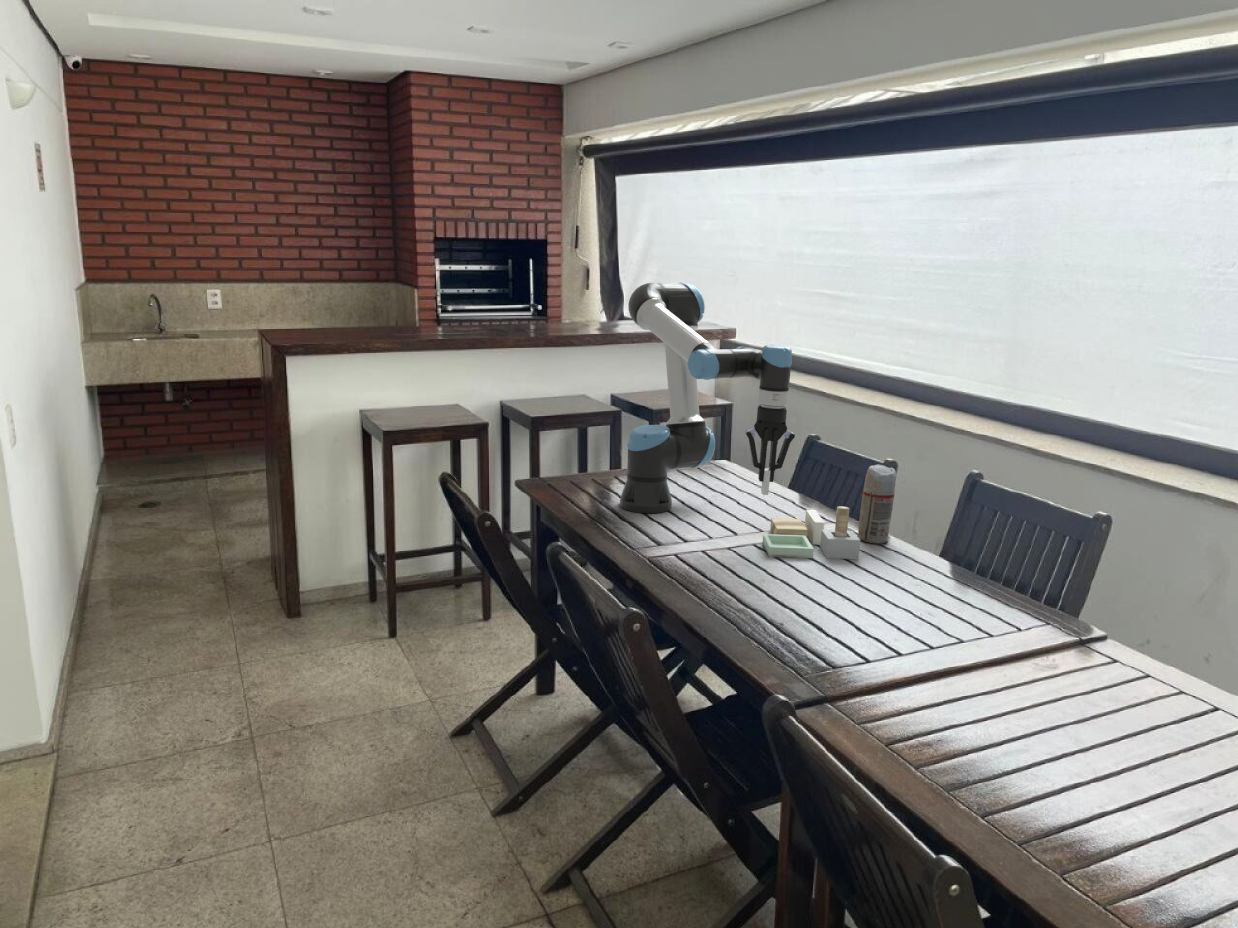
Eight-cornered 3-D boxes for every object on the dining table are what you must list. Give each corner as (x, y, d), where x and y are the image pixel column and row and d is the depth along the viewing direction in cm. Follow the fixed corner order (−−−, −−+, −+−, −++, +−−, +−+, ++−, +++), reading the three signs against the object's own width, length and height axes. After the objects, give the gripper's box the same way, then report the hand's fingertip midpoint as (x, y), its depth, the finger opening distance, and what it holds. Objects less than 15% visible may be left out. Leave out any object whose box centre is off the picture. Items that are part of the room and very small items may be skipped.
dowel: (831, 551, 247) (835, 506, 244) (843, 551, 247) (847, 506, 244) (834, 555, 244) (838, 509, 241) (846, 555, 244) (850, 509, 241)
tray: (762, 543, 251) (763, 533, 251) (804, 544, 251) (805, 535, 251) (768, 556, 241) (769, 547, 240) (812, 558, 241) (813, 548, 240)
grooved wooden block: (770, 532, 262) (771, 517, 262) (799, 533, 263) (800, 518, 262) (775, 543, 253) (776, 528, 252) (806, 544, 253) (807, 529, 252)
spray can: (886, 536, 262) (894, 464, 257) (891, 545, 254) (899, 471, 249) (854, 534, 262) (861, 462, 258) (859, 543, 254) (866, 469, 250)
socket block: (820, 548, 249) (821, 529, 248) (851, 549, 249) (852, 530, 248) (826, 558, 241) (828, 538, 240) (858, 559, 241) (860, 540, 240)
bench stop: (804, 530, 264) (806, 509, 262) (813, 531, 264) (815, 509, 262) (812, 544, 252) (814, 522, 251) (822, 544, 252) (824, 522, 251)
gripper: (749, 407, 246) (741, 496, 252) (800, 409, 246) (791, 498, 252) (745, 401, 253) (738, 488, 259) (795, 404, 253) (786, 490, 259)
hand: (764, 493), depth 256 cm, fingers closed
